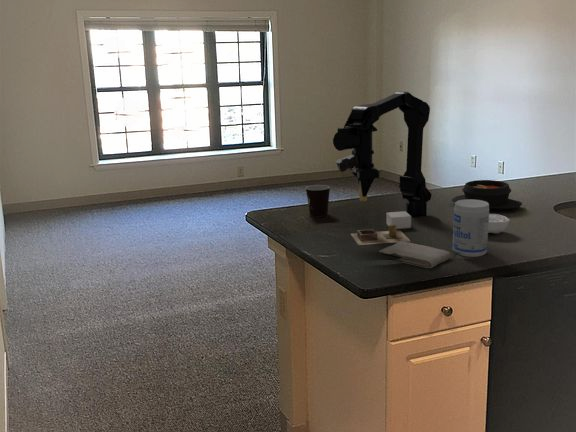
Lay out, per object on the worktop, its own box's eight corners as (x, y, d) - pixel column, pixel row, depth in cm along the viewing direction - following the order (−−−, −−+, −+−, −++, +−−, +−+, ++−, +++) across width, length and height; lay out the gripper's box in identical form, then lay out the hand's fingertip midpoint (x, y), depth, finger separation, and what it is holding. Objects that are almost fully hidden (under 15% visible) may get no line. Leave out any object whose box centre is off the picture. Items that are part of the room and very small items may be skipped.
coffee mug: (328, 217, 226) (328, 190, 223) (304, 217, 227) (303, 190, 225) (333, 209, 237) (332, 183, 234) (310, 209, 238) (309, 183, 236)
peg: (366, 199, 204) (366, 177, 203) (367, 200, 202) (367, 179, 200) (358, 199, 204) (358, 178, 202) (360, 201, 202) (360, 179, 200)
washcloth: (398, 247, 191) (398, 238, 190) (453, 259, 179) (453, 248, 178) (376, 258, 182) (375, 248, 182) (431, 271, 171) (431, 260, 170)
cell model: (501, 240, 192) (502, 218, 191) (464, 234, 200) (464, 213, 198) (514, 231, 200) (515, 211, 198) (478, 226, 207) (478, 206, 206)
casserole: (530, 205, 229) (531, 182, 227) (508, 217, 216) (509, 193, 214) (466, 197, 245) (466, 175, 243) (442, 207, 232) (442, 185, 230)
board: (399, 233, 203) (399, 219, 202) (410, 244, 192) (410, 229, 190) (350, 237, 202) (350, 223, 200) (358, 248, 190) (358, 233, 189)
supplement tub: (446, 254, 182) (447, 204, 178) (461, 245, 189) (462, 197, 185) (478, 260, 176) (480, 208, 172) (492, 251, 183) (494, 201, 179)
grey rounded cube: (405, 225, 211) (405, 211, 210) (411, 231, 205) (411, 216, 204) (386, 227, 211) (386, 212, 209) (391, 232, 205) (391, 217, 203)
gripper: (332, 143, 207) (333, 190, 211) (342, 152, 189) (343, 203, 193) (366, 142, 208) (366, 189, 212) (379, 150, 190) (379, 201, 194)
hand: (363, 195), depth 203 cm, fingers closed on peg, 2 cm apart
